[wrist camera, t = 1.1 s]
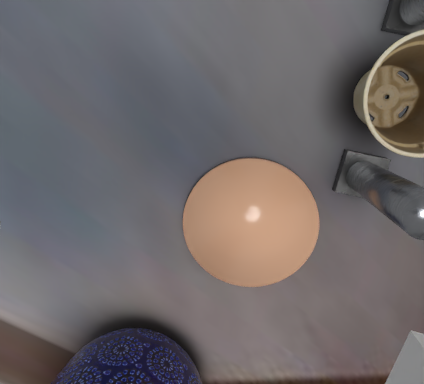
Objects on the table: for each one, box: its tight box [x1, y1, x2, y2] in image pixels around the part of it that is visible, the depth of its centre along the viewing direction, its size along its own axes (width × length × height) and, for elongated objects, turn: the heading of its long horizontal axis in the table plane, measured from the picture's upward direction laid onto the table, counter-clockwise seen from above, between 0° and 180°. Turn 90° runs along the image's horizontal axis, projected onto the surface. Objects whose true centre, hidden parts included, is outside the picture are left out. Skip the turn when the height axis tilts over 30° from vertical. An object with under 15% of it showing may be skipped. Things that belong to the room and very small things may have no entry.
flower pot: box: [353, 30, 424, 158], centre depth 30 cm, size 9×9×9 cm
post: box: [333, 149, 424, 240], centre depth 29 cm, size 4×4×14 cm
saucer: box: [183, 158, 319, 287], centre depth 38 cm, size 15×15×1 cm
